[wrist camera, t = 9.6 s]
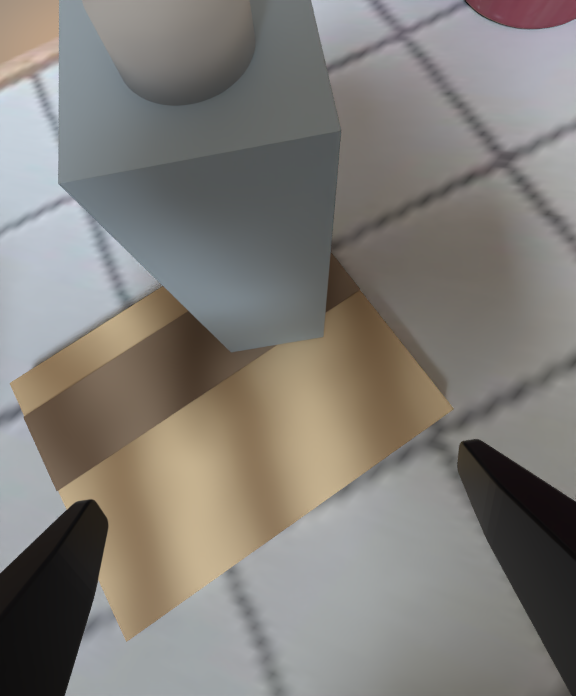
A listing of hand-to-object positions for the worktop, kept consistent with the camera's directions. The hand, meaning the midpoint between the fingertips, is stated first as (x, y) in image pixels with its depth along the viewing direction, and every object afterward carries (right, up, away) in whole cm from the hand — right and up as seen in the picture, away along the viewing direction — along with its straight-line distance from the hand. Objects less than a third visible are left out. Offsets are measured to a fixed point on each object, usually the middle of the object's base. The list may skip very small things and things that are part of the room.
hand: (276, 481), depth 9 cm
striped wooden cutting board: (-3, +1, +9) cm, 10 cm away
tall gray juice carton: (-1, +6, +9) cm, 11 cm away
